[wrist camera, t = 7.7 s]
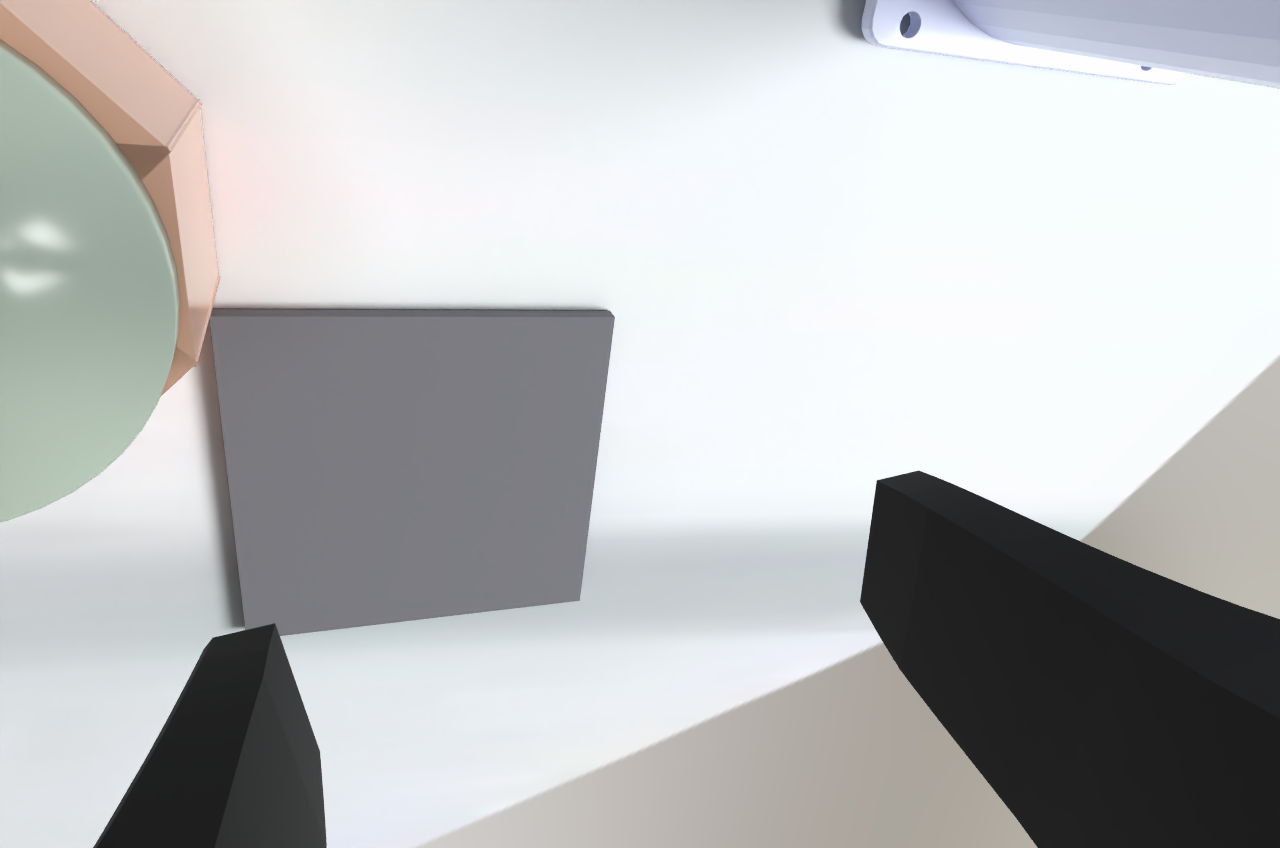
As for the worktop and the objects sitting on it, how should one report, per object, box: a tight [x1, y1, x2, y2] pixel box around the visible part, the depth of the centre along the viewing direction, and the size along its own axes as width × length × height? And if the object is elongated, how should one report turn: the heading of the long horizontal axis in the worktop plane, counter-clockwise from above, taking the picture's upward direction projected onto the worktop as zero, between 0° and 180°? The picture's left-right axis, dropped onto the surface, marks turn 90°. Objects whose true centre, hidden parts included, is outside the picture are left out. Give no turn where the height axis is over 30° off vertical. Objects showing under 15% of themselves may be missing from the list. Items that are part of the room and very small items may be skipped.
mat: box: [209, 309, 615, 636], centre depth 20 cm, size 8×8×1 cm
